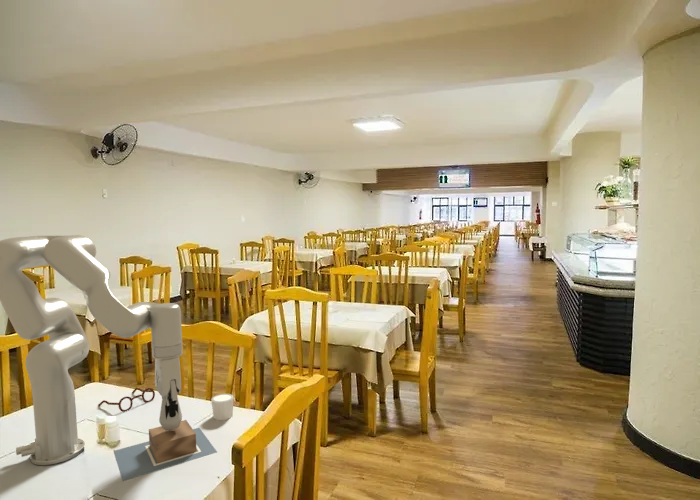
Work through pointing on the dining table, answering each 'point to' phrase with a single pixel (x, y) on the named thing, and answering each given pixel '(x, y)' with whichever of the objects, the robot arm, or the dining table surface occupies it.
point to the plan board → (144, 462)
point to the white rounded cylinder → (222, 406)
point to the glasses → (131, 398)
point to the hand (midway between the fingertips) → (170, 415)
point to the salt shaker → (170, 422)
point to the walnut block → (172, 442)
